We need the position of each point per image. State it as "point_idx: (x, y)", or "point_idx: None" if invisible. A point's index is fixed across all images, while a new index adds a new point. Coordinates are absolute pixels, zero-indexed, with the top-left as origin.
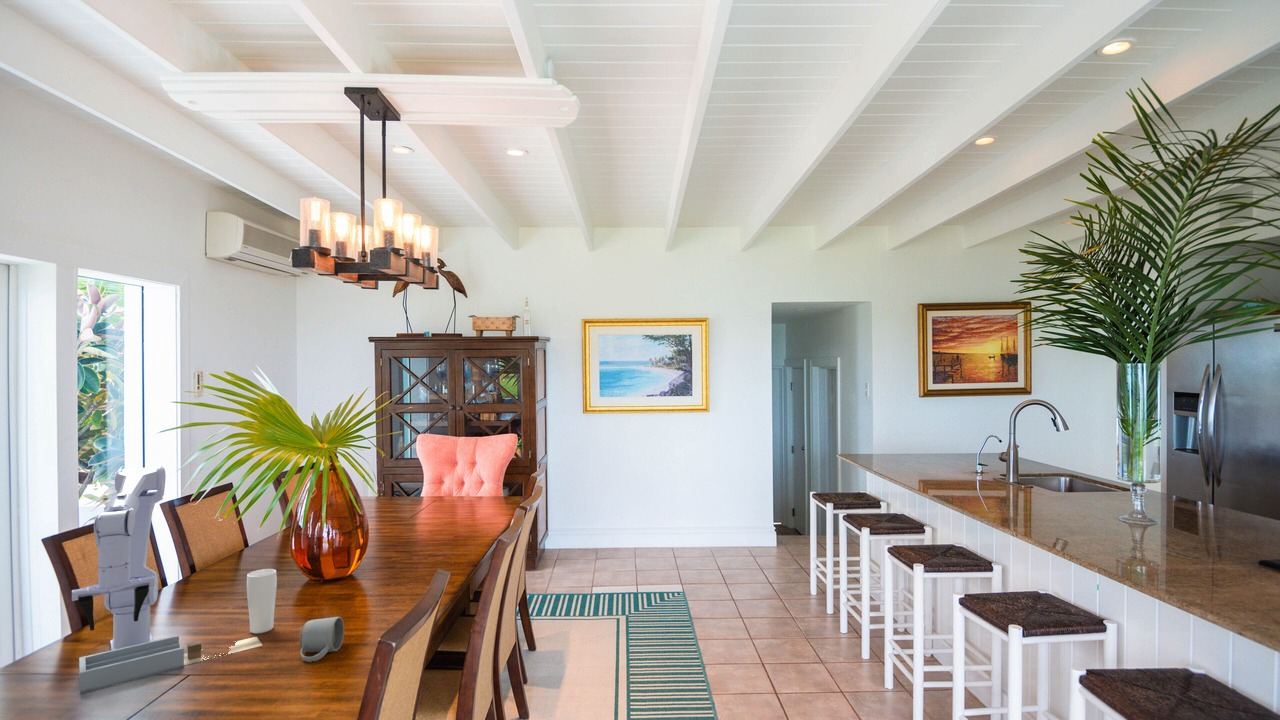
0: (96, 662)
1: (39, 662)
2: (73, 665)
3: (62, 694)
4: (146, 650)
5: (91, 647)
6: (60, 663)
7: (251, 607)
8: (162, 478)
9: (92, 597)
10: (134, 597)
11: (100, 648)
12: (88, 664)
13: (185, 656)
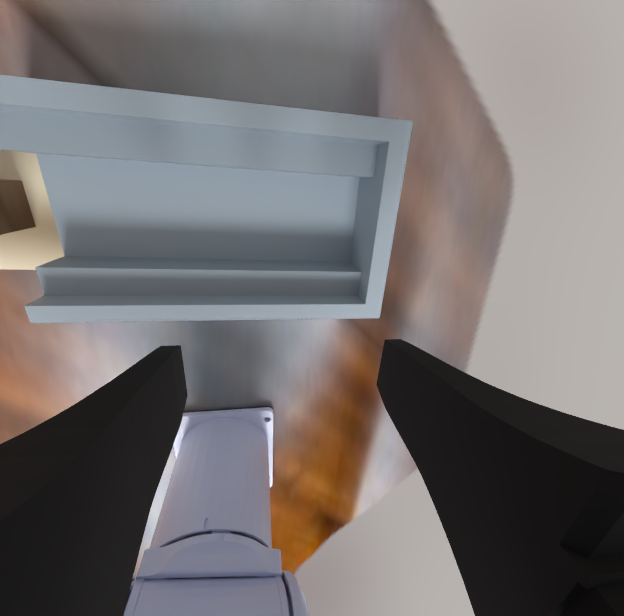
0: (329, 284)
1: (402, 447)
2: (354, 389)
3: (411, 184)
4: (170, 284)
5: (309, 474)
6: (373, 418)
7: None
8: None
9: (559, 609)
10: (129, 574)
11: (293, 459)
12: (351, 282)
13: (46, 238)
